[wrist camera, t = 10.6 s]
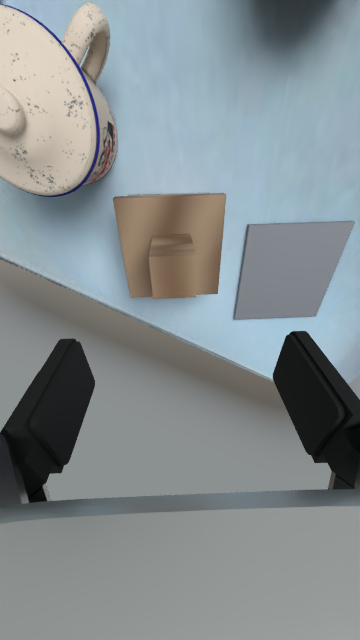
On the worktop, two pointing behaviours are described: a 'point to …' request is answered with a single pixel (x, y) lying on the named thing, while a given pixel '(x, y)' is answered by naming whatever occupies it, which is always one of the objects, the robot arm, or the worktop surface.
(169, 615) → the robot arm
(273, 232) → the mat
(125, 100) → the worktop surface
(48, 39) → the teacup with lid
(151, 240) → the lid
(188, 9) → the worktop surface
